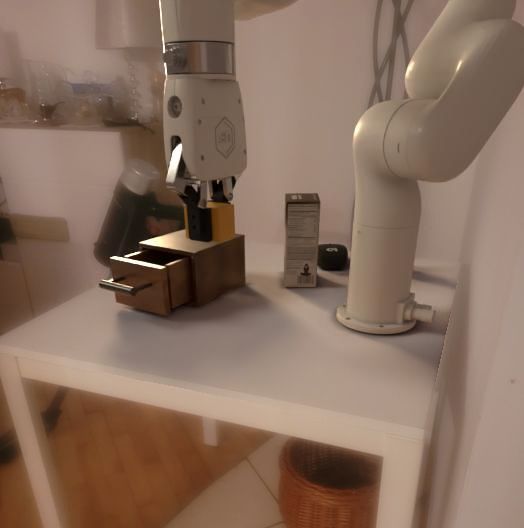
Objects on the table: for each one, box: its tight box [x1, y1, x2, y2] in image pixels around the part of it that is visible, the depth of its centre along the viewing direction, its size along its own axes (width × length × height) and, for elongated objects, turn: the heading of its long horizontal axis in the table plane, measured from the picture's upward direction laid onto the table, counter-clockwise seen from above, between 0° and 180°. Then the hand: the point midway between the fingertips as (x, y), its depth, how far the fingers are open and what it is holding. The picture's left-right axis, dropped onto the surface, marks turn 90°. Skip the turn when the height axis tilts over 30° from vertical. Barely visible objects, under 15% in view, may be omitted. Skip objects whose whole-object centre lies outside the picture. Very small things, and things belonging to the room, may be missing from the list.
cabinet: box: [138, 228, 247, 308], centre depth 90 cm, size 15×13×10 cm
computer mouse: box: [317, 242, 349, 271], centre depth 107 cm, size 8×12×4 cm, turn 179°
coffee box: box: [283, 192, 322, 288], centre depth 93 cm, size 9×6×16 cm
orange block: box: [183, 202, 236, 243], centre depth 60 cm, size 5×3×4 cm, turn 59°
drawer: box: [98, 249, 194, 317], centre depth 83 cm, size 18×11×8 cm, turn 147°
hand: (210, 235), depth 60 cm, fingers closed on orange block, 3 cm apart
